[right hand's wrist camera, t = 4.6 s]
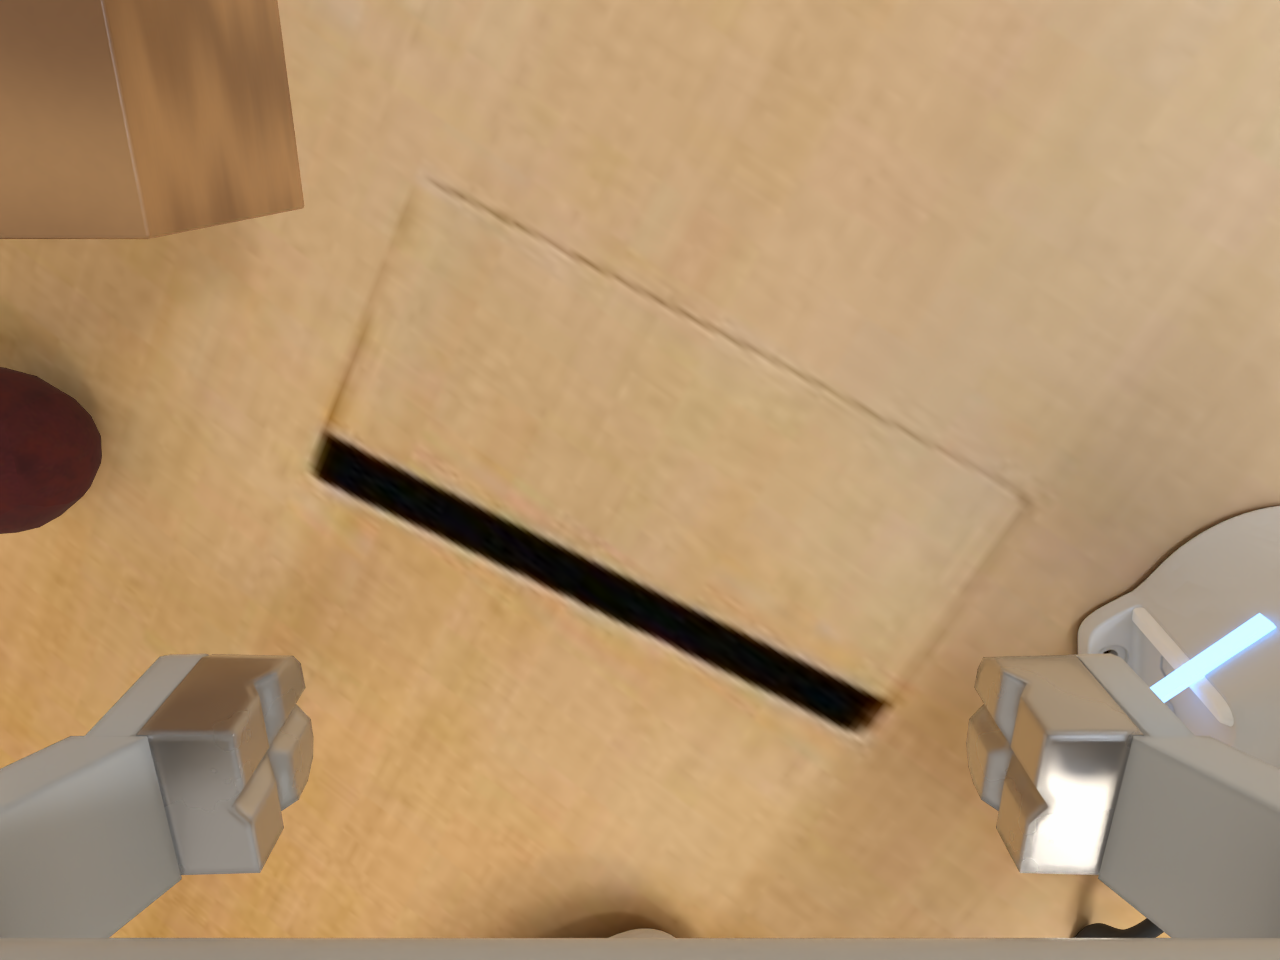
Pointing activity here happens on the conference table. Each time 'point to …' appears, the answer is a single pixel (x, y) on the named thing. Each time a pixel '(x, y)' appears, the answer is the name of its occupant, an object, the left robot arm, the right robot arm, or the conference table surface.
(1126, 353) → the conference table surface
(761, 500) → the conference table surface
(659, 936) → the white plastic device
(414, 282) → the conference table surface
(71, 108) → the box
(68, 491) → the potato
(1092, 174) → the conference table surface
